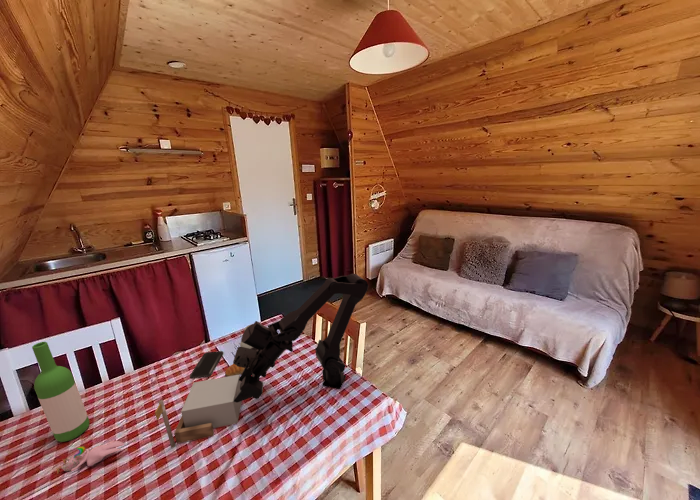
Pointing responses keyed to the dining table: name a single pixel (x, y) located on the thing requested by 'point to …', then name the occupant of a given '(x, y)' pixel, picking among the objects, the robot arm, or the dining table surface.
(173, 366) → the dining table surface
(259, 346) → the robot arm
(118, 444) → the rabbit figure
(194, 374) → the phone
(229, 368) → the pastry
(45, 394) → the wine bottle
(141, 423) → the dining table surface
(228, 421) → the beige box
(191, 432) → the walnut pocket
